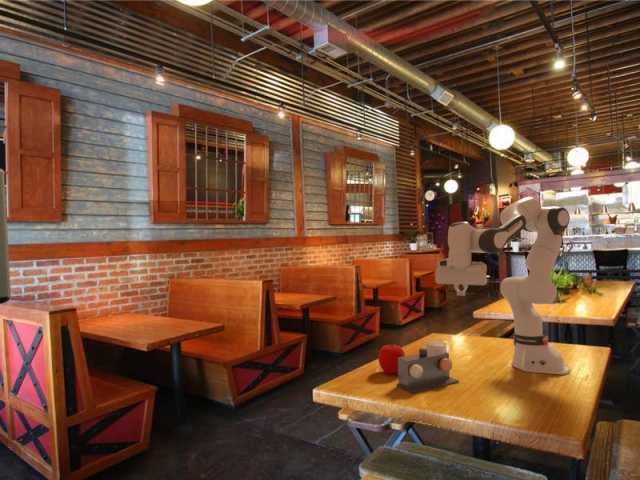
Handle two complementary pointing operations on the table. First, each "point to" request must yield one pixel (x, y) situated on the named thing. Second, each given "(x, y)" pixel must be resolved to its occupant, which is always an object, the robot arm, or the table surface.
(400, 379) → the mount
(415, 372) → the knob
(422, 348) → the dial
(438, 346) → the cup
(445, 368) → the knob
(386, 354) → the tomato
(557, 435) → the table surface
